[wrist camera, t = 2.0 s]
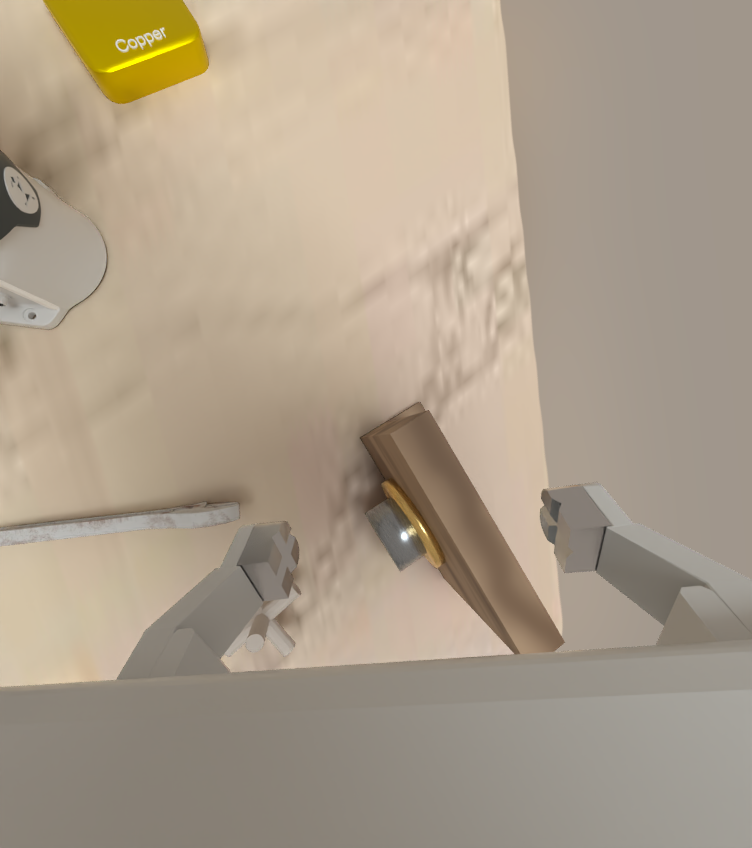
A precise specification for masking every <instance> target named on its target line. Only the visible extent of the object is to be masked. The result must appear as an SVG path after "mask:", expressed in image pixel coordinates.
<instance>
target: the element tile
mask: <svg viewBox="0 0 752 848" xmlns="http://www.w3.org/2000/svg"><path fill="white" fill-rule="evenodd" d="M43 2H44V3H45V5H46V7H47V8H48V10H49V11H50V13H51V15H52V16H53V18H54V20H55V21H56V23H57V24H58V26H59V27H60V29H61V30H62V32H63V33H64V35H65V36H66V38H67V39H68V41H69V42H70V44H71V45H72V47H73V48H74V50H75V51H76V53H77V54H78V56H79V57H80V59H81V60H82V62H83V63H84V65H85V67H86V68H87V70H88V71H89V73H90V74H91V76H92V77H93V79H94V80H95V82H96V83H97V85H98V86H99V88H100V89H101V91H102V92H103V94H104V95H105V96H106V97H107V98H108V99H109V100H111V101H112V102H115V103H118V104H125V103H129V102H132V101H134V100H137V99H139V98H142V97H144V96H147V95H150V94H152V93H155V92H157V91H160V90H162V89H165V88H167V87H170V86H172V85H175V84H178V83H180V82H183V81H185V80H188V79H190V78H193V77H195V76H198V75H201V74H202V73H204V72H205V71H206V70H207V69H208V66H209V62H208V57H207V53H206V50H205V46H204V43H203V39H202V36H201V32H200V29H199V26H198V24H197V22H196V21H195V19H194V17H193V16H192V14H191V13H190V11H189V10H188V8H187V7H186V5H185V3H184V2H183V0H43Z"/></svg>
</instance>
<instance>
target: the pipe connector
mask: <svg viewBox="0 0 752 848" xmlns="http://www.w3.org/2000/svg"><path fill="white" fill-rule="evenodd" d="M300 595H301V591H300V589H299V588H298V586H297V585H296V584H295V583H292V587H291V591H290V595H289V598H287V599H279V600H270V601H263V604H262V606H261V607H260V608H259V609H258V611H257V612H256V613H255V615H254V616H253V617H252V619H251V620H250V621H249V622H248V624H247V625H246V626H245V628H244V629H243V630H242V631H241V633H240V634H239V635H238V637H237V638H236V639H235V641H234V642H233V643H232V644H231V646H230V647H229V648H228V650H227V651H226V652H225V653H224V654H225V655H226V656H227V657H230V656H231V655H232V654H234V653H235V652H236V651H237V650H238V649H239V648H240V647H242V646H243V645H244V644H245V643H246V648H247V650H248V651H250V652H257V651H259V650H261V648H262V647H263V645H264V641H265V637H267V638H268V639H269V640H270V641H271V643H272V644H273V645H274V646H275V647H276V648H277V650H278V651H279V652H280V653H281V654H282V655H283V657H285V656H287V655H288V654H289V653H290V652H291V651H292V650H293V648H294V647H295V642H294V641H293V639H292V638H291V637H290V636H289V635H288V634H287V632H286V631H285V630H284V629H283V628H282V626H281V625H280V624H279V623H278V622H277V621H276V619H275V617H276V616H277V615H278V614H279V613H280V612H282V611H283V610H284V609H285V608H286V607H287V606H288V605H290V604H291V603H292V602H293V601H294V600H295V599H296V598H298V597H299V596H300Z"/></svg>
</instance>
